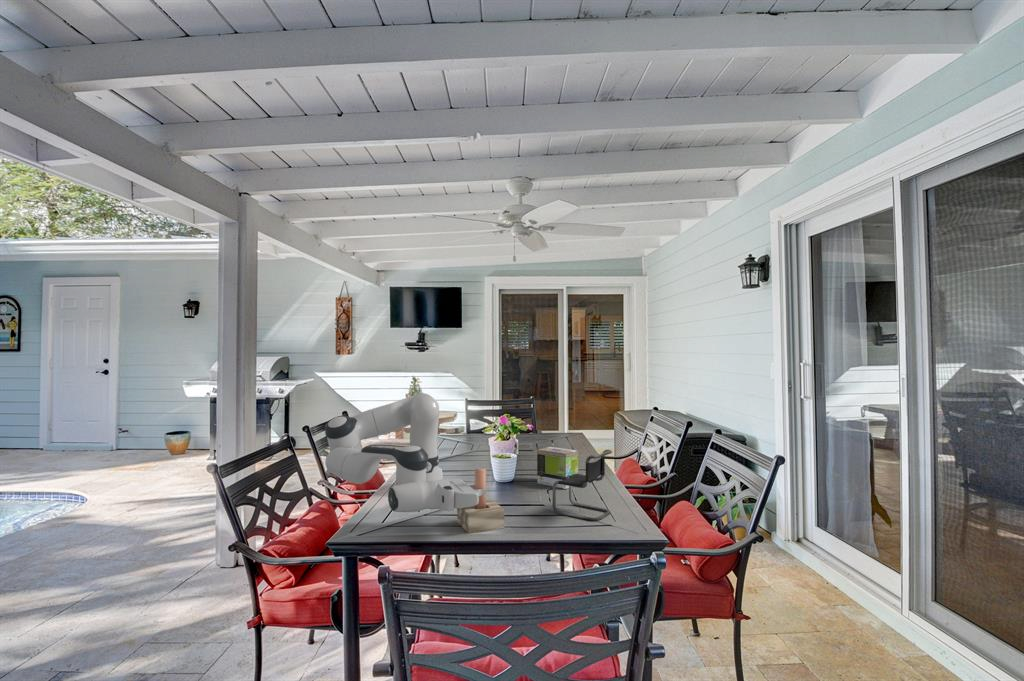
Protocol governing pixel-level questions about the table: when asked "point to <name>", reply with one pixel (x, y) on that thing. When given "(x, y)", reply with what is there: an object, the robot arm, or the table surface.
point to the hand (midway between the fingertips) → (482, 489)
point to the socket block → (481, 517)
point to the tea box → (556, 465)
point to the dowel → (480, 486)
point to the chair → (584, 485)
